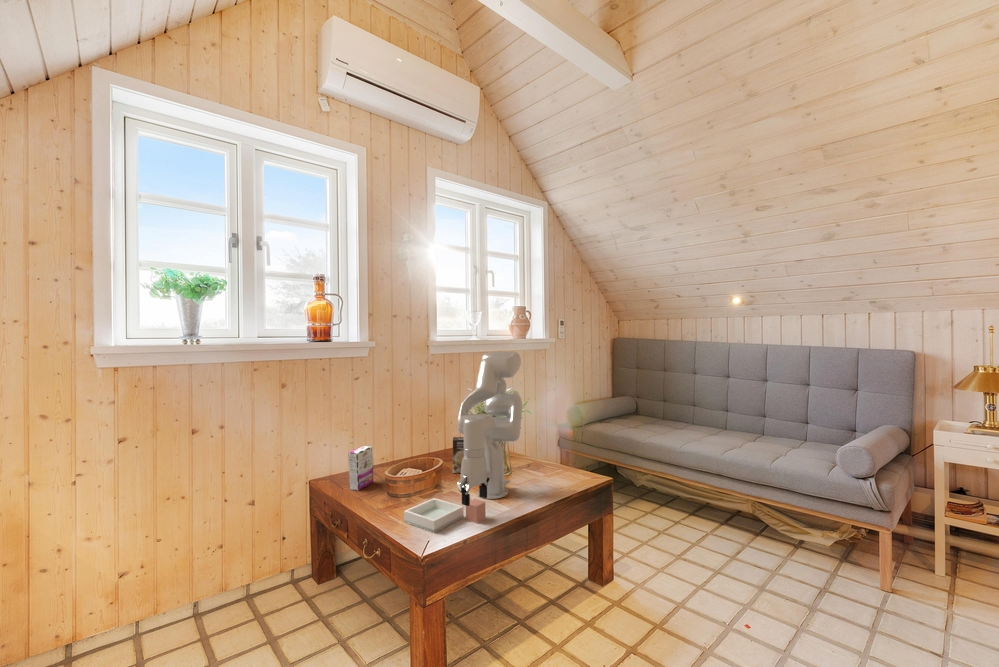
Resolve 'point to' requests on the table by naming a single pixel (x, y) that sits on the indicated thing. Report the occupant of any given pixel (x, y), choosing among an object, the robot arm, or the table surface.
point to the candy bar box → (360, 468)
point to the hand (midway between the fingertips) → (474, 501)
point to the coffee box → (458, 453)
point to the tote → (433, 514)
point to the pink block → (475, 511)
